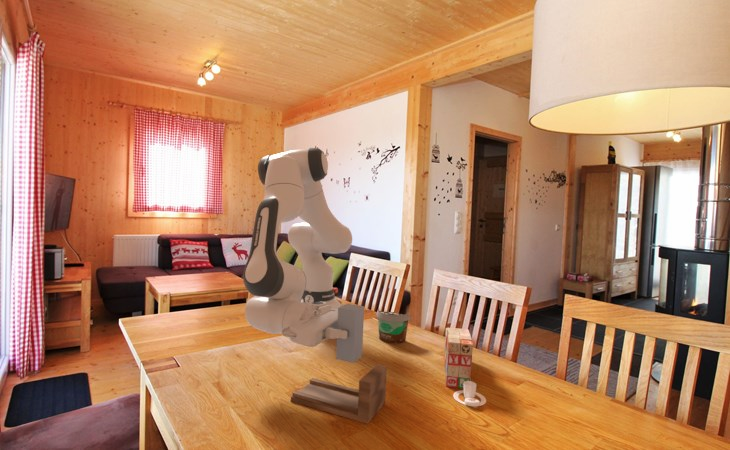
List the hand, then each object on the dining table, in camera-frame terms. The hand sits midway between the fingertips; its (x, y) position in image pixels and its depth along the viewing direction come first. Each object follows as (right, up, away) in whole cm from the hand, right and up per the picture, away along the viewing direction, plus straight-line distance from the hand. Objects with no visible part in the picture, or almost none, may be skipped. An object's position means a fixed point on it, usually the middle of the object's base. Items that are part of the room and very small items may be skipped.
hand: (353, 330), depth 92 cm
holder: (-4, -18, +2) cm, 18 cm away
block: (-1, -6, +1) cm, 7 cm away
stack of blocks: (+29, -18, +23) cm, 41 cm away
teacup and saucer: (+26, -19, +6) cm, 33 cm away
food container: (+11, -16, +45) cm, 49 cm away
